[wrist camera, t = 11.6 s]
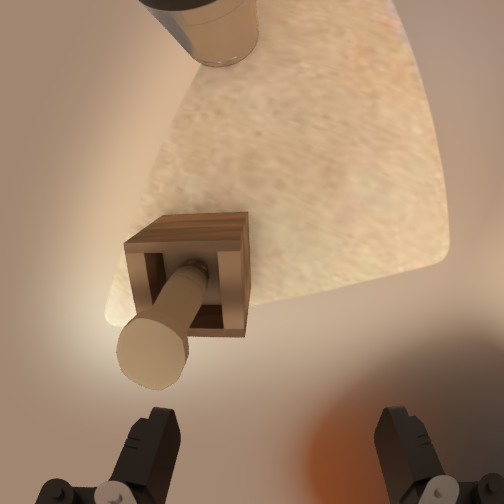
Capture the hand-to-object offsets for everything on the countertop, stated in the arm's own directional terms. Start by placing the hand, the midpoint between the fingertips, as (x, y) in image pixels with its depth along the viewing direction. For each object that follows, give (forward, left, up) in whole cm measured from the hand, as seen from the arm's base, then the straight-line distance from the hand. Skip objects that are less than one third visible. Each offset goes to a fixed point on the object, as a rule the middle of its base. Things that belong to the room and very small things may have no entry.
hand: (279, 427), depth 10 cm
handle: (+3, -8, -23) cm, 25 cm away
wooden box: (+3, -8, -30) cm, 31 cm away
